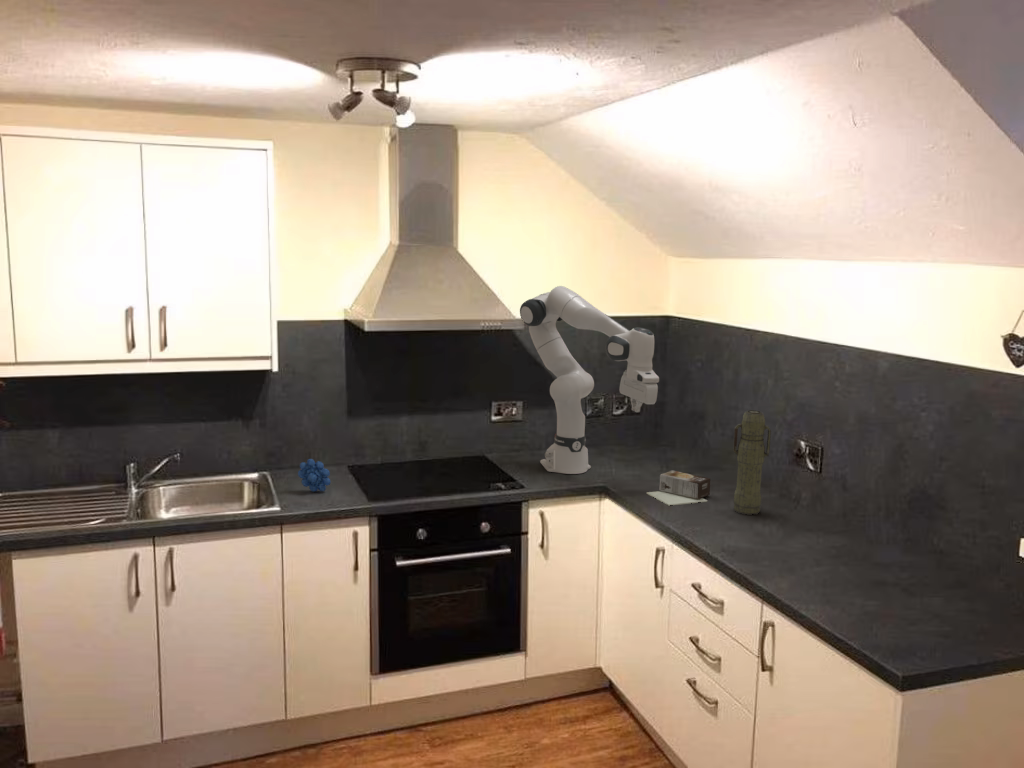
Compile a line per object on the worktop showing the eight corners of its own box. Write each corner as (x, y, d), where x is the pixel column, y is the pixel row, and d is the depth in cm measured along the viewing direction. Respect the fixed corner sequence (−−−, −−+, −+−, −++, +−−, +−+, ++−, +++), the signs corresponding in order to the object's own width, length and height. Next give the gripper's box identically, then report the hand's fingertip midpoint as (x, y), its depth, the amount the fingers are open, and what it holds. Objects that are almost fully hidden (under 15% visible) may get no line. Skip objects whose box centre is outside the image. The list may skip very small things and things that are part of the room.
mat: (646, 493, 315) (646, 492, 315) (683, 490, 321) (684, 488, 321) (668, 505, 301) (668, 504, 301) (707, 501, 307) (707, 500, 307)
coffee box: (671, 469, 323) (711, 477, 313) (670, 486, 324) (710, 494, 314) (659, 474, 316) (699, 483, 306) (658, 491, 317) (698, 500, 307)
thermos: (727, 506, 303) (734, 408, 297) (762, 508, 302) (769, 409, 296) (730, 513, 294) (737, 413, 289) (765, 516, 293) (774, 415, 287)
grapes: (294, 494, 302) (294, 461, 300) (299, 489, 309) (299, 456, 307) (327, 495, 302) (327, 462, 300) (332, 490, 309) (332, 457, 307)
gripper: (617, 368, 316) (613, 405, 319) (646, 379, 298) (642, 418, 301) (632, 368, 319) (628, 404, 322) (662, 378, 300) (658, 417, 303)
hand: (635, 411), depth 311 cm, fingers closed
